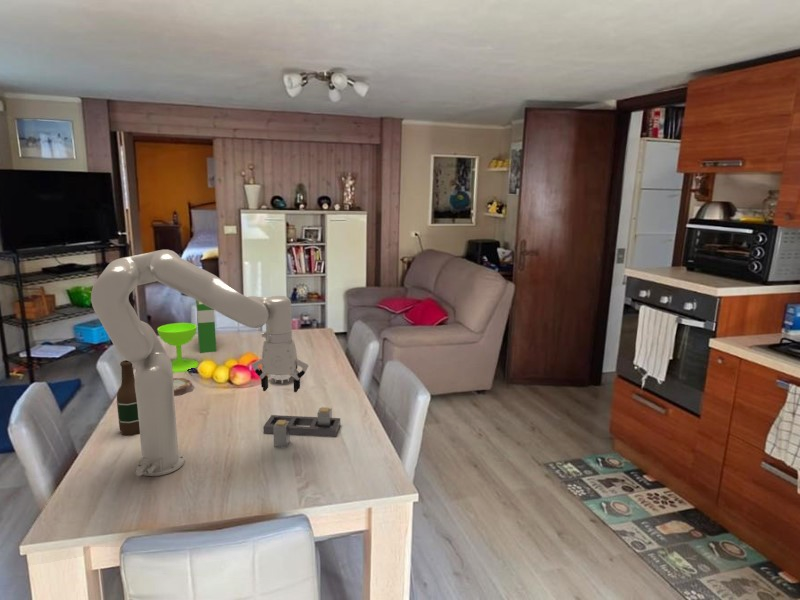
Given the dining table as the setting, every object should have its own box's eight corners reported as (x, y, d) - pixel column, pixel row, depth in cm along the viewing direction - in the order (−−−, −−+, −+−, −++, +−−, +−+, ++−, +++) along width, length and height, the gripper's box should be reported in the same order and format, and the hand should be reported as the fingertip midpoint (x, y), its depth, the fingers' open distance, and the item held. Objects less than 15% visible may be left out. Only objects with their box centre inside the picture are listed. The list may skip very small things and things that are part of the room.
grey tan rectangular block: (329, 433, 173) (329, 411, 171) (317, 432, 173) (317, 411, 172) (331, 427, 177) (331, 406, 175) (320, 427, 177) (320, 406, 175)
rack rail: (340, 424, 179) (340, 418, 179) (335, 436, 170) (335, 430, 170) (271, 421, 180) (271, 415, 180) (263, 433, 172) (263, 426, 171)
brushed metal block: (286, 447, 163) (286, 425, 161) (273, 446, 163) (273, 424, 161) (289, 441, 167) (289, 419, 165) (277, 440, 167) (277, 418, 165)
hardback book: (198, 343, 267) (195, 297, 262) (213, 341, 270) (211, 296, 265) (200, 353, 252) (197, 304, 247) (216, 351, 254) (213, 303, 249)
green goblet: (190, 373, 225) (187, 332, 221) (153, 372, 225) (150, 331, 221) (204, 361, 240) (202, 323, 237) (170, 360, 241) (167, 322, 237)
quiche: (179, 378, 221) (178, 369, 220) (213, 387, 211) (212, 378, 210) (134, 394, 203) (133, 384, 202) (168, 405, 193) (168, 395, 192)
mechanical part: (263, 383, 215) (262, 356, 212) (278, 374, 226) (278, 348, 223) (287, 387, 211) (286, 359, 209) (301, 377, 222) (301, 351, 220)
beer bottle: (116, 437, 167) (109, 366, 162) (122, 426, 174) (116, 358, 169) (143, 434, 169) (137, 364, 164) (148, 424, 176) (142, 356, 171)
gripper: (246, 339, 154) (249, 393, 158) (304, 341, 153) (305, 395, 157) (255, 332, 162) (257, 384, 165) (310, 334, 161) (311, 386, 164)
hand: (280, 390), depth 161 cm, fingers open, 9 cm apart
